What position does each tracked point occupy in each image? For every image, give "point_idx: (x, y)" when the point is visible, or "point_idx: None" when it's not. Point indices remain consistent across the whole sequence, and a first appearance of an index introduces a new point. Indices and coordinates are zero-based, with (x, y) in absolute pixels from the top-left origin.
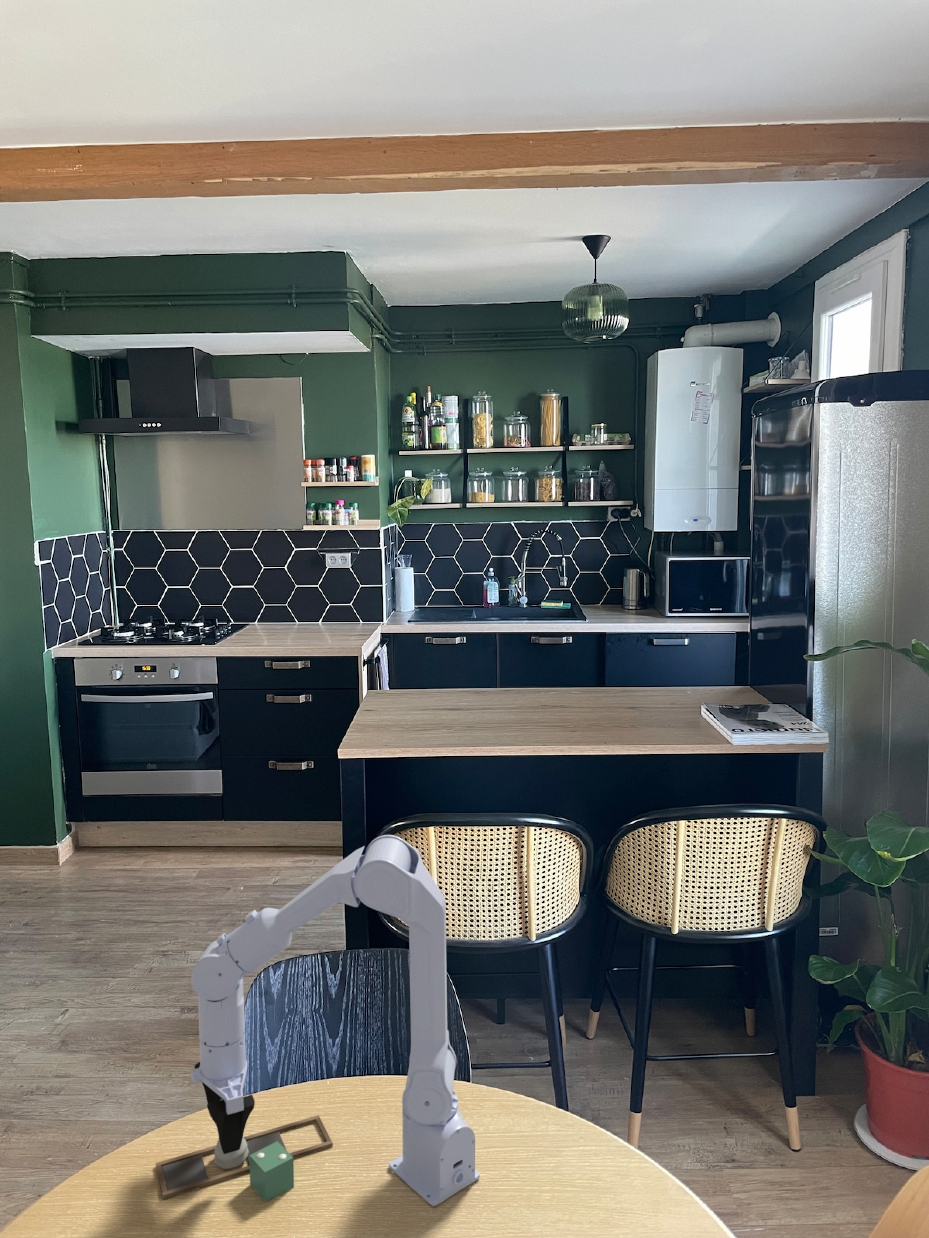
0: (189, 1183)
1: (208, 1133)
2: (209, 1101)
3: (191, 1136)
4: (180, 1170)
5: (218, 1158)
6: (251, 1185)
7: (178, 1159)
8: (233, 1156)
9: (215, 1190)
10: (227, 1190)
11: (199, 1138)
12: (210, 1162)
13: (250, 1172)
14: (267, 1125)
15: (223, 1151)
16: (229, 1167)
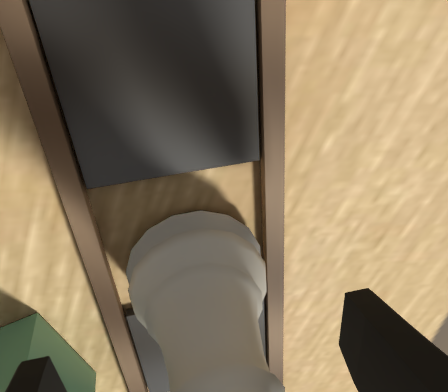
0: (74, 109)
1: (381, 178)
2: (405, 372)
3: (402, 116)
4: (185, 67)
5: (154, 249)
6: (26, 317)
7: (261, 62)
8: (134, 307)
9: (21, 208)
10: (14, 248)
11: (371, 146)
12: (206, 187)
13: (24, 356)
14: (316, 336)
15: (14, 374)
16: (129, 262)
